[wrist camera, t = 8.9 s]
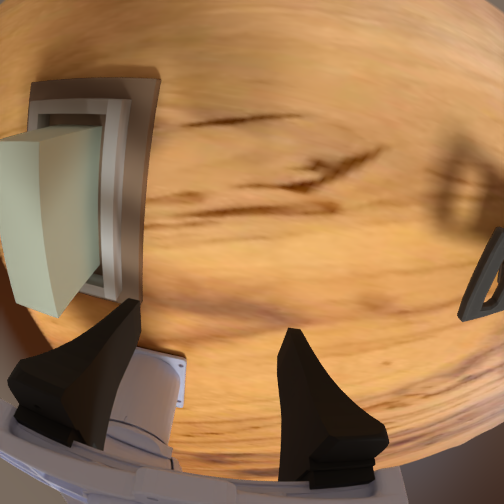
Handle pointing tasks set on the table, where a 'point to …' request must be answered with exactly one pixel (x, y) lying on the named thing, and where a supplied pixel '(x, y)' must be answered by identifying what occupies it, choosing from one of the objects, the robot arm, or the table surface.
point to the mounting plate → (109, 167)
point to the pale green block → (50, 213)
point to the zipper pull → (485, 281)
